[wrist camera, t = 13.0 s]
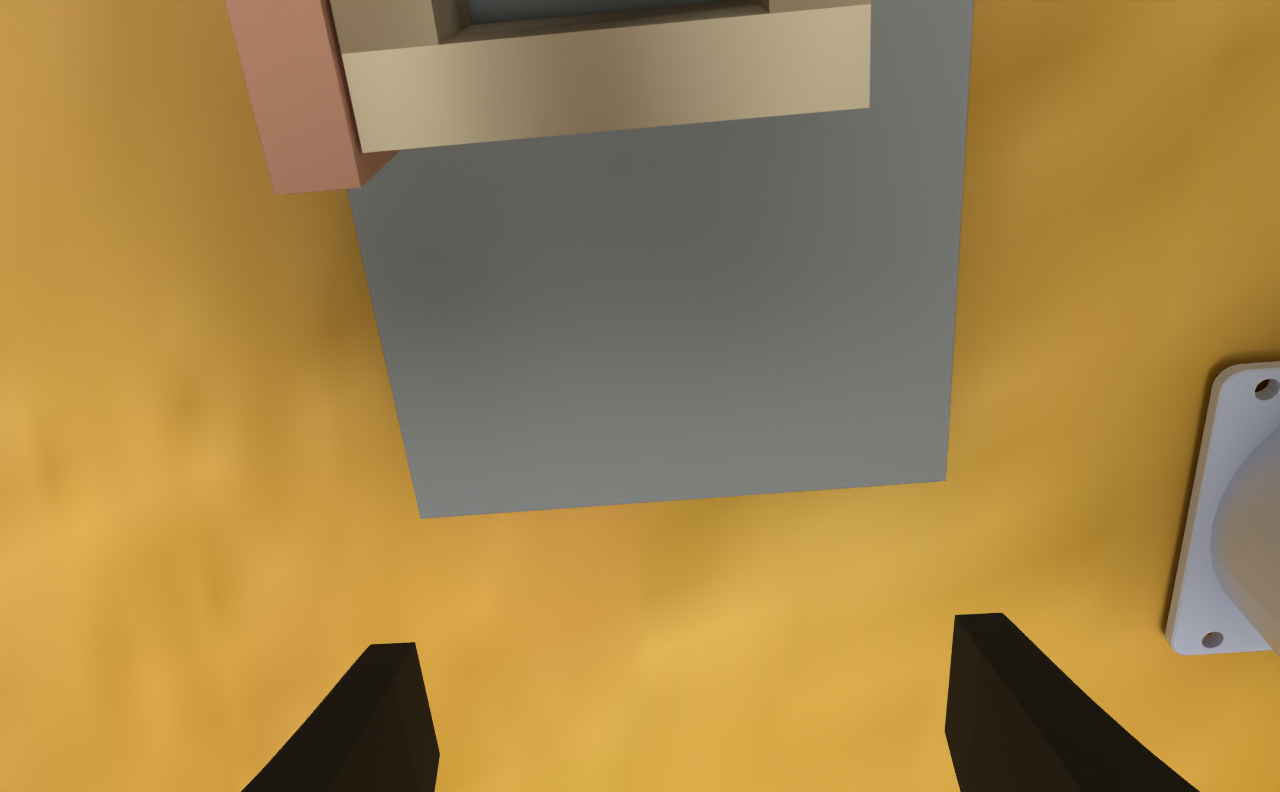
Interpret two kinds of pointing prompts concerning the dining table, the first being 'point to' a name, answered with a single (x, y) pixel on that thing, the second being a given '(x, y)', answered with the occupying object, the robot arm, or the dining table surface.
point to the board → (650, 276)
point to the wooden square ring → (594, 68)
